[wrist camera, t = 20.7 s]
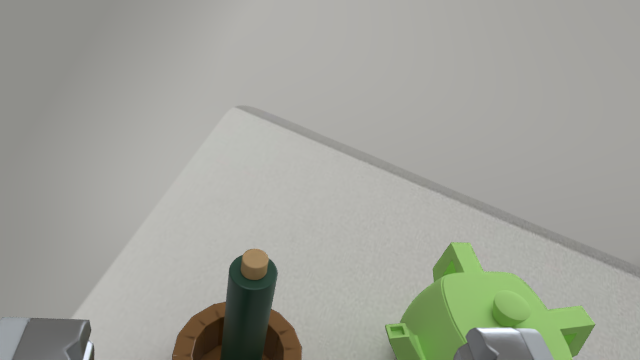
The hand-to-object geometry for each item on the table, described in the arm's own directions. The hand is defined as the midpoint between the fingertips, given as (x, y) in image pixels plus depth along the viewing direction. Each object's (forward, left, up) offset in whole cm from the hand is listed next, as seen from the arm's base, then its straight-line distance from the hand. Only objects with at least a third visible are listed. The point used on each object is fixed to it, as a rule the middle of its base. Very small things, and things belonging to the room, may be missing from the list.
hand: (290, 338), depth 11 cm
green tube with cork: (+4, +11, -22) cm, 25 cm away
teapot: (+18, +6, -23) cm, 30 cm away
